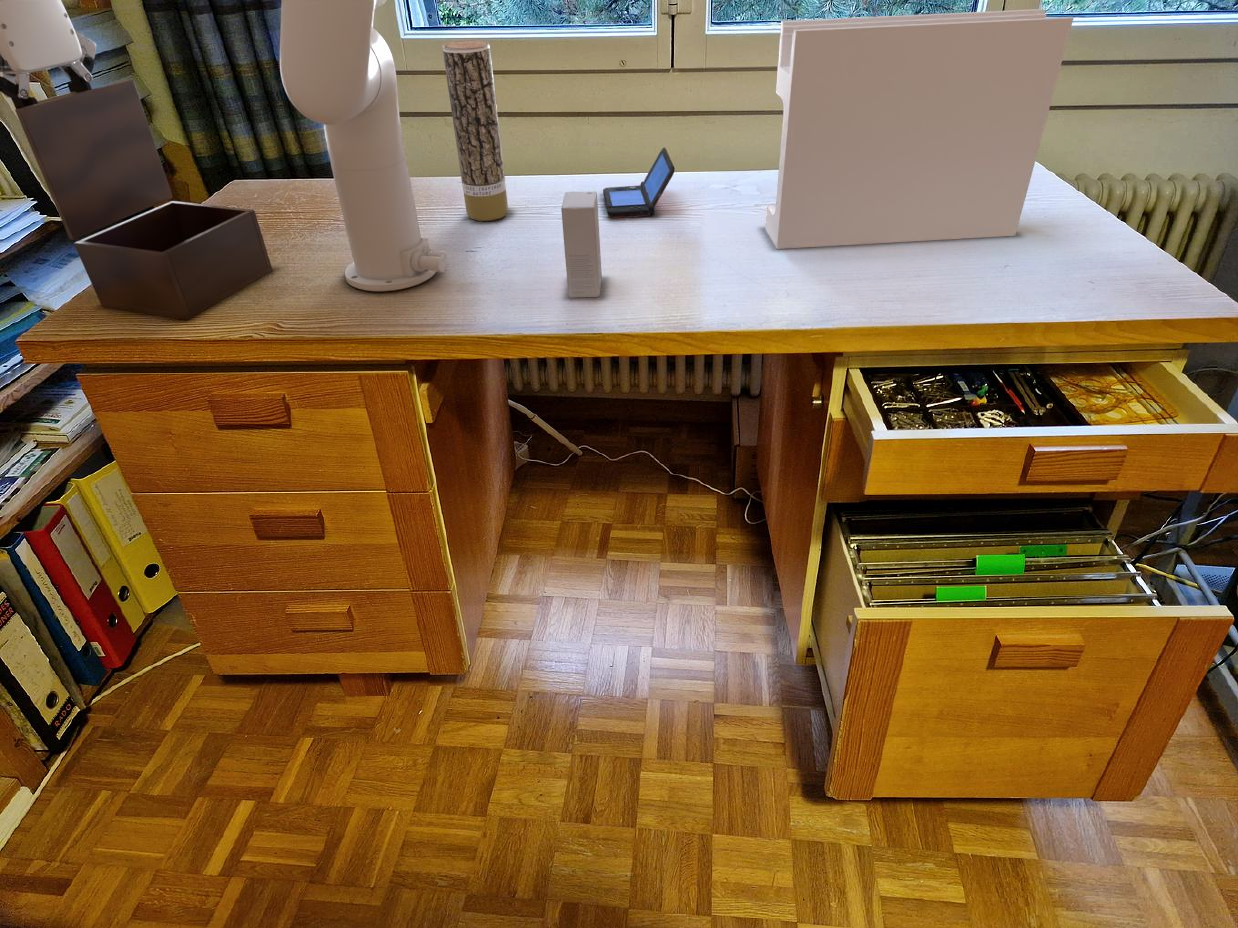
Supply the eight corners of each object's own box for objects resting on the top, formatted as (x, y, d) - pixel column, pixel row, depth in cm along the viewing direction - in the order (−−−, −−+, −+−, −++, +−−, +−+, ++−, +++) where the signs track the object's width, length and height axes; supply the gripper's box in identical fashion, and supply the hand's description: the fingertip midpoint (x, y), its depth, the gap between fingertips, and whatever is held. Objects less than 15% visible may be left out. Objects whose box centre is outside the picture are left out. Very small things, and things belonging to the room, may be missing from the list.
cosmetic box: (570, 279, 110) (564, 191, 103) (602, 278, 110) (597, 190, 103) (567, 298, 105) (560, 207, 98) (600, 298, 105) (595, 206, 98)
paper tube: (516, 216, 131) (497, 44, 116) (478, 225, 128) (454, 51, 113) (497, 205, 136) (476, 39, 121) (460, 214, 133) (434, 45, 118)
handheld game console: (602, 194, 138) (600, 149, 134) (665, 190, 139) (665, 146, 135) (607, 220, 128) (605, 172, 124) (675, 216, 129) (675, 168, 125)
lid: (133, 79, 106) (102, 76, 107) (19, 110, 93) (-15, 106, 95) (173, 198, 115) (143, 193, 116) (74, 240, 103) (42, 234, 104)
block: (776, 249, 117) (795, 31, 100) (765, 229, 123) (781, 21, 106) (1015, 235, 118) (1073, 18, 101) (991, 216, 124) (1042, 9, 108)
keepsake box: (273, 270, 116) (254, 209, 111) (187, 320, 104) (161, 255, 99) (193, 259, 121) (172, 200, 115) (101, 306, 108) (73, 243, 103)
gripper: (40, -47, 100) (99, 106, 111) (-102, -32, 87) (-20, 140, 98) (85, -48, 98) (141, 109, 108) (-54, -32, 85) (25, 144, 95)
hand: (65, 122), depth 103 cm, fingers open, 7 cm apart
